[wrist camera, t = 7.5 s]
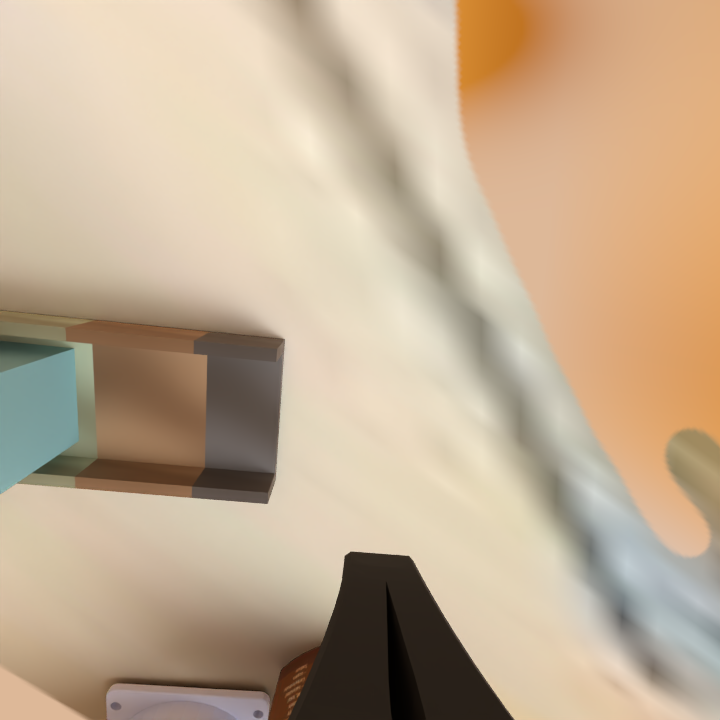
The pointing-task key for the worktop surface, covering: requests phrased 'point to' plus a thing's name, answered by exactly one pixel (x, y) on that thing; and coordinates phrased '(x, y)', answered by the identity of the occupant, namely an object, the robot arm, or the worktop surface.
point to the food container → (291, 685)
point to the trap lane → (164, 408)
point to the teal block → (35, 407)
